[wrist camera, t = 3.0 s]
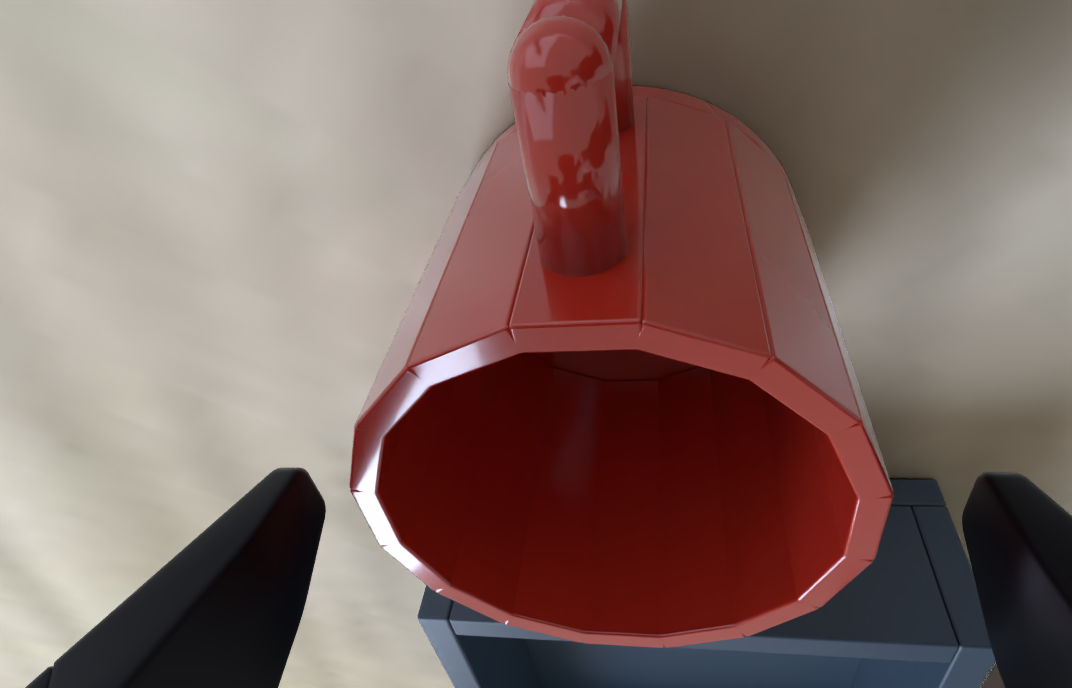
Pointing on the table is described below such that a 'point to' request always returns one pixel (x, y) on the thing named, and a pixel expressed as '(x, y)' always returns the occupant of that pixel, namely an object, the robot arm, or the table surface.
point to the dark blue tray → (770, 629)
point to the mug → (621, 372)
